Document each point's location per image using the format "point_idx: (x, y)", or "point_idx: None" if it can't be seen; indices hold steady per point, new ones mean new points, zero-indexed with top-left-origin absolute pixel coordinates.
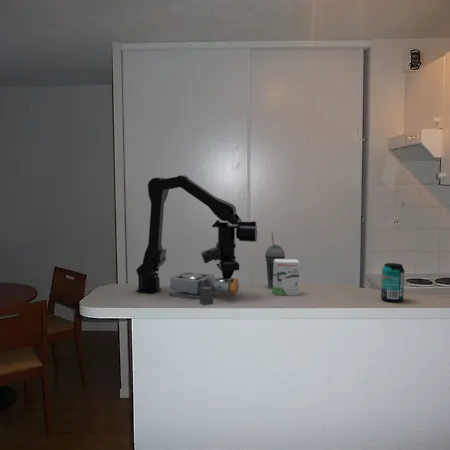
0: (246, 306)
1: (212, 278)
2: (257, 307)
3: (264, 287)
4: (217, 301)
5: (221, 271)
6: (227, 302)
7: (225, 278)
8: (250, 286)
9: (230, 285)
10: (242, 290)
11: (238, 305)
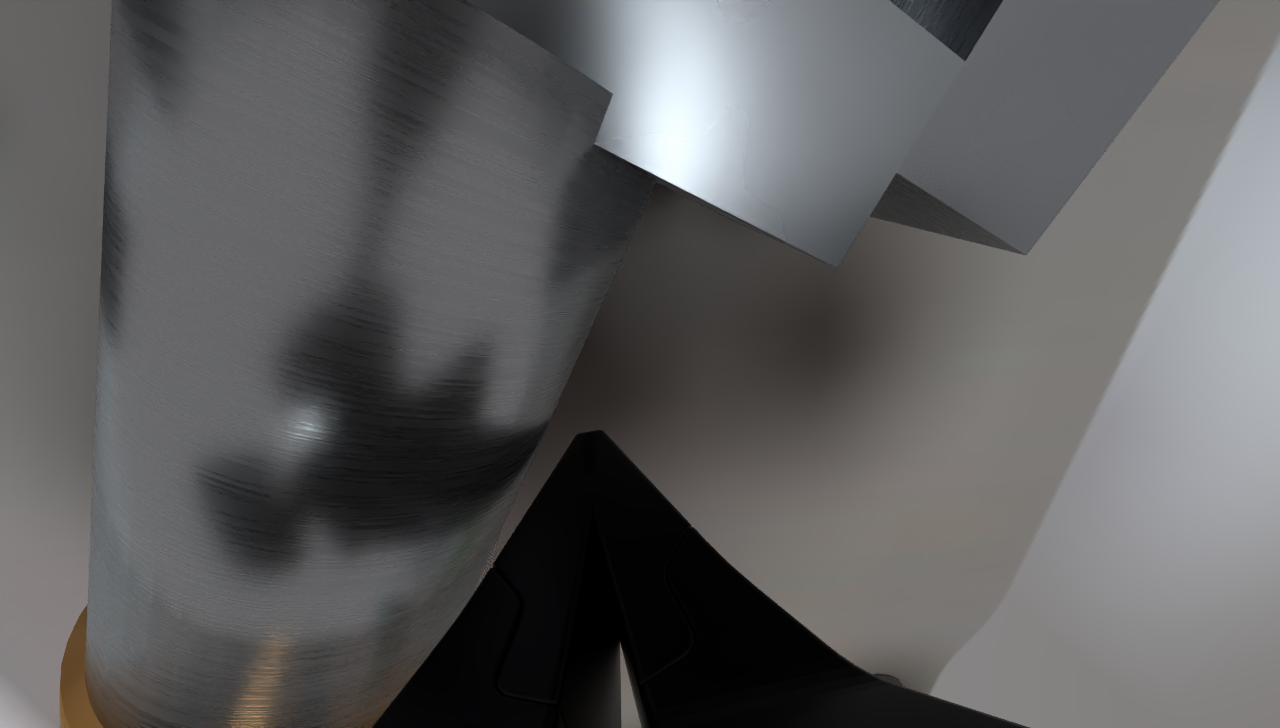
0: (12, 632)
1: (177, 242)
2: (35, 714)
3: (864, 656)
4: (100, 276)
5: (734, 622)
6: None
7: (237, 657)
8: (929, 567)
9: (68, 659)
10: (784, 523)
11: (8, 558)
